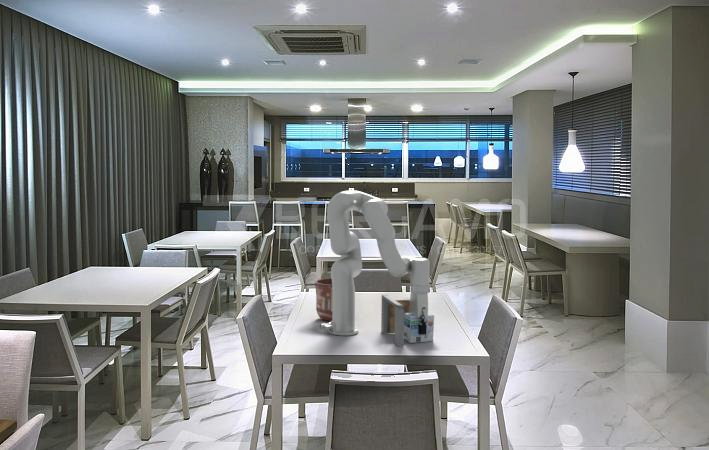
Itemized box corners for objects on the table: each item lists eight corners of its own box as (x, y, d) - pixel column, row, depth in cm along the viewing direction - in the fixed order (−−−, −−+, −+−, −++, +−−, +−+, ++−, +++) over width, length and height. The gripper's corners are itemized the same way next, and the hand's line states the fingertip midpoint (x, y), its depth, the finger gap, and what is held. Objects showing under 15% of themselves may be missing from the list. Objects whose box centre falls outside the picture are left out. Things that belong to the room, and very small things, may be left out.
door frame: (398, 346, 238) (399, 306, 237) (381, 331, 261) (381, 294, 260) (403, 346, 239) (404, 306, 238) (385, 331, 262) (386, 294, 260)
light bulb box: (410, 343, 243) (411, 316, 242) (402, 338, 249) (403, 312, 248) (434, 341, 247) (434, 314, 246) (426, 336, 253) (427, 311, 252)
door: (387, 333, 257) (388, 300, 256) (387, 332, 258) (387, 300, 257) (419, 332, 259) (420, 299, 258) (418, 331, 260) (419, 299, 259)
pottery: (329, 313, 294) (329, 276, 293) (360, 318, 285) (360, 280, 284) (307, 321, 279) (307, 282, 277) (340, 326, 270) (340, 286, 268)
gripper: (403, 285, 254) (403, 326, 255) (418, 293, 237) (417, 337, 238) (420, 284, 255) (419, 325, 257) (436, 292, 239) (435, 336, 240)
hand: (418, 331), depth 248 cm, fingers open, 7 cm apart
